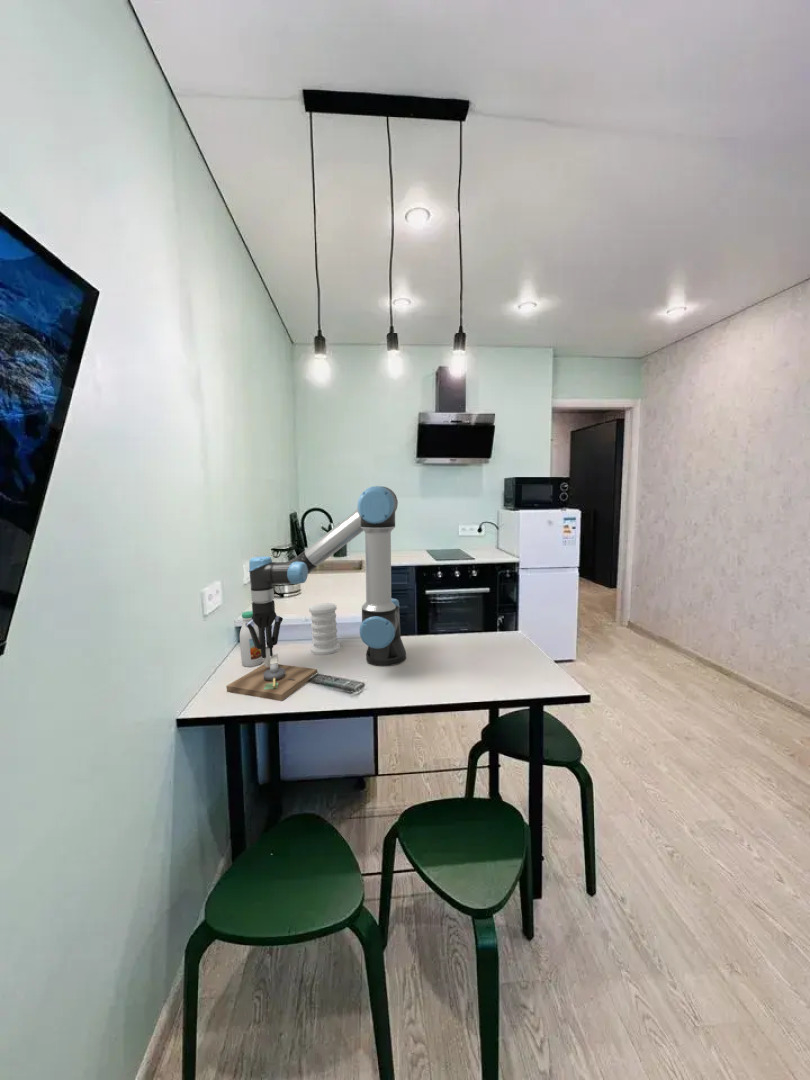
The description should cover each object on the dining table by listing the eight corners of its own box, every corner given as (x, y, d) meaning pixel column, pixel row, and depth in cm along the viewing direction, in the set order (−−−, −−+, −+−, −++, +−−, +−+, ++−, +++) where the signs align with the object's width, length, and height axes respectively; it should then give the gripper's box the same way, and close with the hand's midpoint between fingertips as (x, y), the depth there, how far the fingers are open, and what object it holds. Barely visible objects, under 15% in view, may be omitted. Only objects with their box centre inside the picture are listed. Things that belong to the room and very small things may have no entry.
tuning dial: (285, 685, 140) (284, 674, 139) (262, 689, 138) (261, 678, 137) (284, 662, 159) (284, 652, 159) (264, 665, 157) (263, 655, 157)
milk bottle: (243, 669, 161) (238, 616, 159) (240, 662, 168) (236, 611, 166) (264, 664, 165) (260, 613, 163) (261, 658, 172) (257, 608, 169)
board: (317, 674, 153) (317, 668, 153) (281, 700, 135) (281, 694, 135) (267, 667, 162) (266, 662, 161) (226, 691, 143) (226, 685, 143)
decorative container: (337, 654, 172) (334, 610, 170) (308, 655, 172) (305, 611, 170) (342, 644, 183) (339, 602, 181) (314, 645, 183) (311, 603, 181)
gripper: (276, 595, 159) (280, 658, 162) (240, 602, 151) (245, 667, 154) (284, 599, 153) (289, 663, 156) (248, 606, 145) (253, 674, 148)
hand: (267, 665), depth 155 cm, fingers closed
